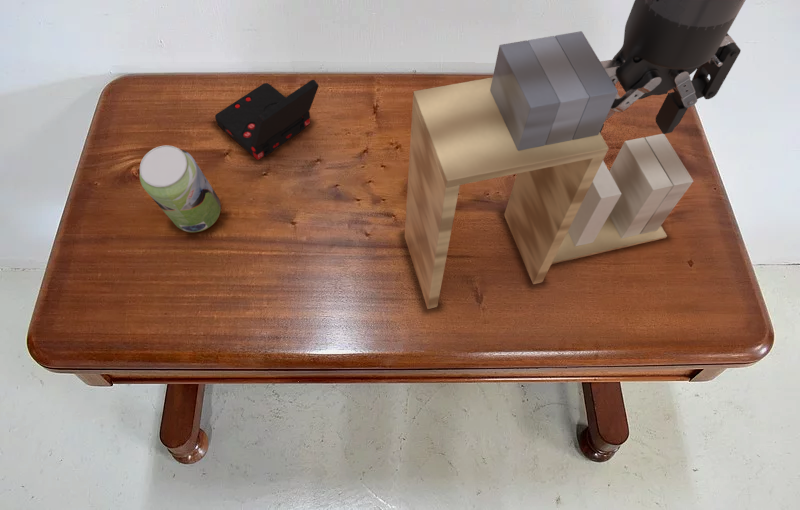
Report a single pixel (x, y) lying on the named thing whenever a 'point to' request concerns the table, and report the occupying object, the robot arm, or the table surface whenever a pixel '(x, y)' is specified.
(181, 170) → the beverage can
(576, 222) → the white book
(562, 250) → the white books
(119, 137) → the table surface
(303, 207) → the table surface
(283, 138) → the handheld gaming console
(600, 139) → the wooden stand
